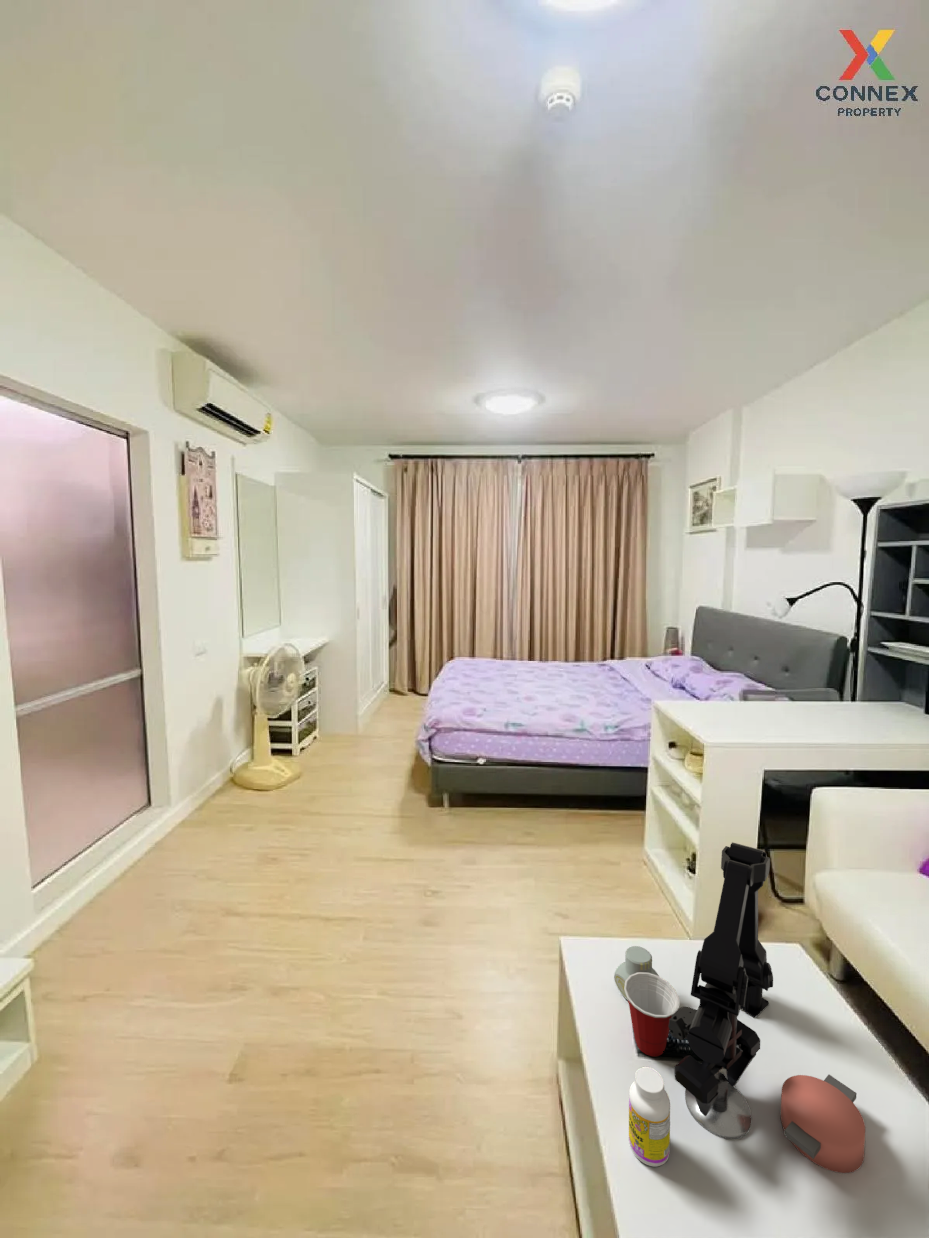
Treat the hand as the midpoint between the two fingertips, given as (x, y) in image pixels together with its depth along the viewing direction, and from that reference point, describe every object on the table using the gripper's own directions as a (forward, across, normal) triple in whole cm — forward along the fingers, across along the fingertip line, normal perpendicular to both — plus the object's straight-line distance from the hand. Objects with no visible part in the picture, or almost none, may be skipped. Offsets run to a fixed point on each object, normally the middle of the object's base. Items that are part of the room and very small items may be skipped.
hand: (717, 1098), depth 97 cm
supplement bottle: (+2, +16, -3) cm, 16 cm away
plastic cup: (+2, -1, -15) cm, 15 cm away
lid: (+2, 0, 0) cm, 2 cm away
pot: (+2, -10, +13) cm, 16 cm away
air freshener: (+2, -10, -25) cm, 27 cm away
